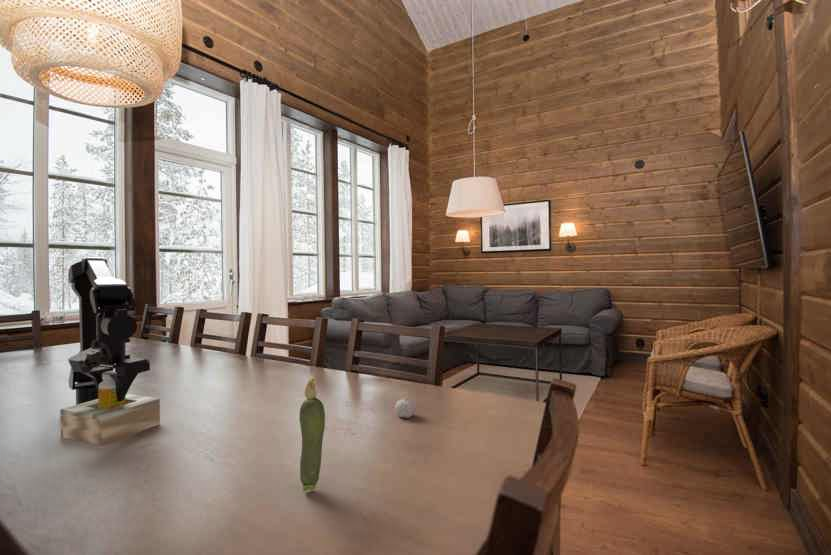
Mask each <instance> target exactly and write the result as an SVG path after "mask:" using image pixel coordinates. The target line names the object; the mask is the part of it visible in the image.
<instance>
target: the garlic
mask: <svg viewBox="0 0 831 555" xmlns="http://www.w3.org/2000/svg"><path fill="white" fill-rule="evenodd" d="M394 412H395V413H396V415H397V416H399V417H400V418H403V419H409V418H411V417H412V416H413V415H414V414H415V413H416V405H415V402H413V401H412V397H405V398H402V399H400V400H397V401H396V403H395V405H394Z"/></svg>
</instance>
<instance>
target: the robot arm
mask: <svg viewBox="0 0 831 555" xmlns="http://www.w3.org/2000/svg"><path fill="white" fill-rule="evenodd" d="M67 274H68V275H67V277H68V283H69V284H70V285H71V290H72V291H73V292H74V293H75V296H77V297H78V306H79V307H78V312H79V316H78V317H79V344H80V345H79V351H78V353H76V354H75V355H73V356H71V357H69V358H67V360H68V363H69V365H70V373H69V377H68V388H69V389H71V391H75V405H78V404H82V403H85V402H89V401H92V400H96V399H98V388H99V384H100V383H101V382H103V380H102V373H104V372H107V371H115V372H116V374H112V375H109V376H110V377H111V378H113V379H114V380H115V385H116V394H117V400H118V401H123V399H124V398H125V396H126V394H128V392H129V390H130V389H131V386H132V384H133V382H134V380H135V379H136V377H137V376H138V374H141V373H145V372H148V371H151V361H150V360H149V359H148V358H142V357H141V358H140V357H135V358H134V357H133V358H131V354H127V350H126V348H127V345H126V344H127V343H130V342H131V338H132V336H134V335H135V334H136V332H137V330H138V324H137V321H136V319H135V318H134V317H132V315H129V314H128V312H135V311H136V306H137V303H136V299H135V296H134V293H133V291H132V289H131V287H130V286H128V284H127V283H126V282H125V281H124V280H123V279H120V278H119V279H118V278H115V276H114V275H113V272H112V271H111V269H110V268H109V264H108V261H107V258H105V257H103V256H102V257H101V256H100V257H99V256H97V257H96V256H90V257H88V256H86V257H83V258H82V259H81V261H79V262H75V263H73V264H71V266H70V267H69V269H68V273H67Z"/></svg>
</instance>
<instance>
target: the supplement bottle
mask: <svg viewBox="0 0 831 555" xmlns="http://www.w3.org/2000/svg"><path fill="white" fill-rule="evenodd" d="M112 374H116V372H115V370H113V371H107V372H104V373H102V380H103V382H101V383H100V384H99V388H98V409H104V410H109V409H113V408H116V407H119V406H122V405H126V396H125V398H124V399H123V401H118V400H117V394H116V385H115V380H114V379H113V378H111V377H110V376H109V375H112Z"/></svg>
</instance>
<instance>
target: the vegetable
mask: <svg viewBox="0 0 831 555" xmlns="http://www.w3.org/2000/svg"><path fill="white" fill-rule="evenodd" d="M317 394H318V393H317V389H316V384H315V378H310V379H309V380H308V383H307V384H306V386H305V388H304V396H305V398H306V399H305V400H303V402H302V404H301V406H300V409H299V423H300V424H299V425H300V432H301V456H300V460H299V461H300V463H299V468H300V469H299V476H300V481H301V484H302V490H303V492H304V491H306V490H312V489H315V490H316V487H317V483H318V482H319V479H320V472H321V465H322V450H323V438H324V434H325V428H326V427H325V426H326V425H325V424H326V412H325V406H324V403H323V402H322V400H321V399H319V398H317ZM312 491H313V490H312ZM306 492H307V491H306Z"/></svg>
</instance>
